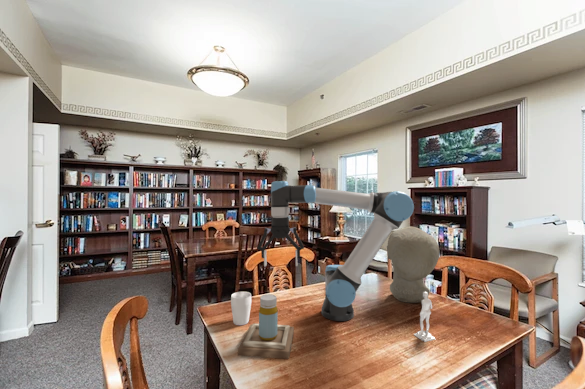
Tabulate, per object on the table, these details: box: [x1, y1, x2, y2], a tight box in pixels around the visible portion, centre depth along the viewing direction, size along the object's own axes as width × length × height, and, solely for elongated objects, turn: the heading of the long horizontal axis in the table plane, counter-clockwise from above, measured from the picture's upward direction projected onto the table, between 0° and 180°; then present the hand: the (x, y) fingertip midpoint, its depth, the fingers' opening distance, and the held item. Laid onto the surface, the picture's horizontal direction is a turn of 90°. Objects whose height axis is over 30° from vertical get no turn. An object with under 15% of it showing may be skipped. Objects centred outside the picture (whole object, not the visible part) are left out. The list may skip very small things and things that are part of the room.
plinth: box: [237, 322, 295, 360], centre depth 105 cm, size 18×18×4 cm
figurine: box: [413, 292, 436, 343], centre depth 111 cm, size 8×7×18 cm
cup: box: [230, 291, 252, 326], centre depth 123 cm, size 9×9×12 cm
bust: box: [386, 225, 440, 304], centre depth 146 cm, size 25×28×40 cm
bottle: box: [258, 293, 279, 341], centre depth 105 cm, size 7×7×15 cm
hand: (281, 265), depth 121 cm, fingers open, 13 cm apart
